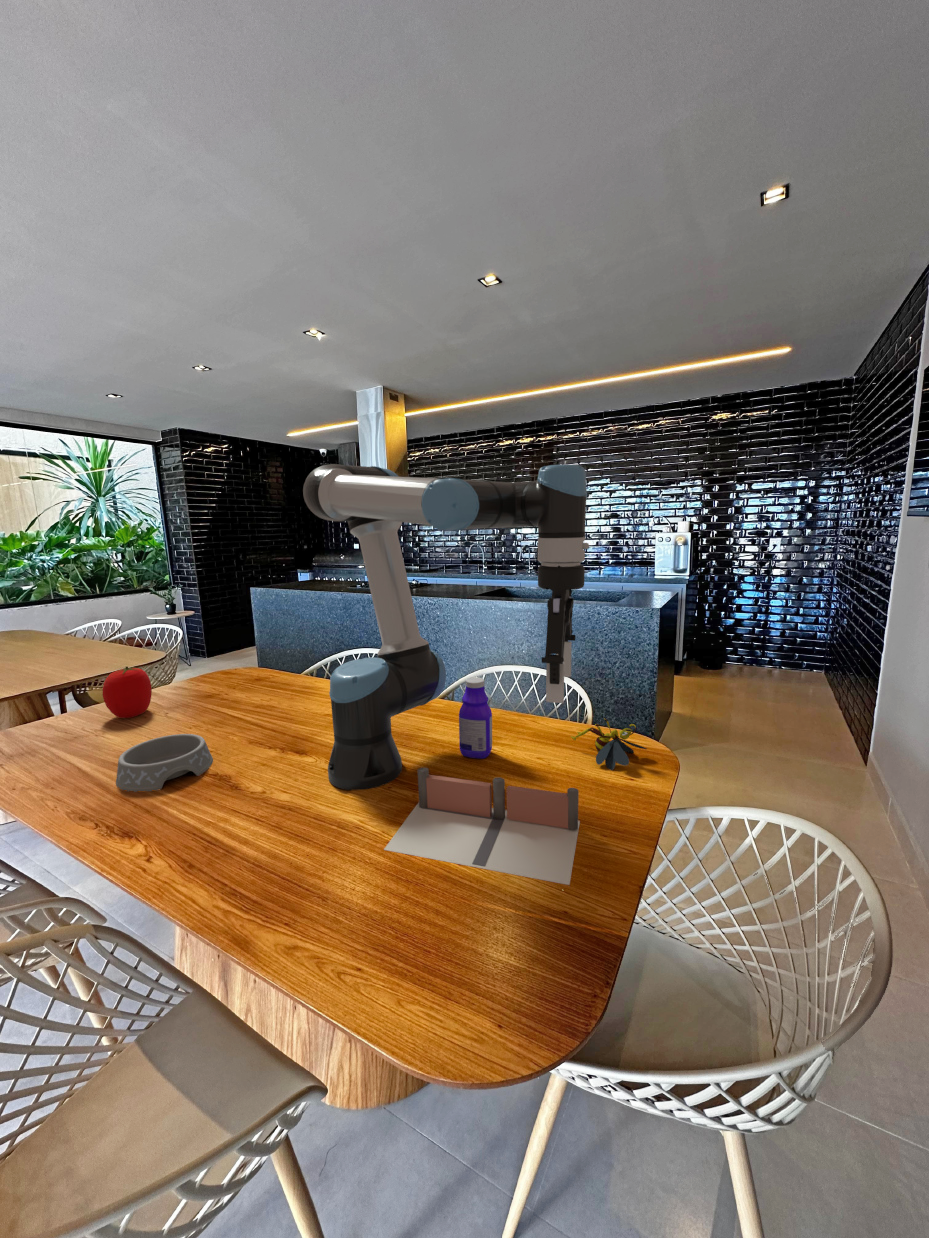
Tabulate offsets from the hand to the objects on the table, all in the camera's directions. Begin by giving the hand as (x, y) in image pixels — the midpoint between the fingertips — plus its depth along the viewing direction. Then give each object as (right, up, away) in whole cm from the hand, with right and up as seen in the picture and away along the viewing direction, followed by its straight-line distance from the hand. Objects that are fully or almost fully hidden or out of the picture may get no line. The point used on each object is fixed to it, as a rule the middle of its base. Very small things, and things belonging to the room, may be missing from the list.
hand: (559, 688), depth 87 cm
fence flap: (-3, -23, -1) cm, 23 cm away
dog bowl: (-81, -21, +23) cm, 87 cm away
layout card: (-13, -24, -3) cm, 27 cm away
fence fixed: (-17, -22, +3) cm, 28 cm away
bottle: (-14, -19, +26) cm, 35 cm away
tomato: (-110, -15, +56) cm, 125 cm away
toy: (+14, -18, +24) cm, 33 cm away
